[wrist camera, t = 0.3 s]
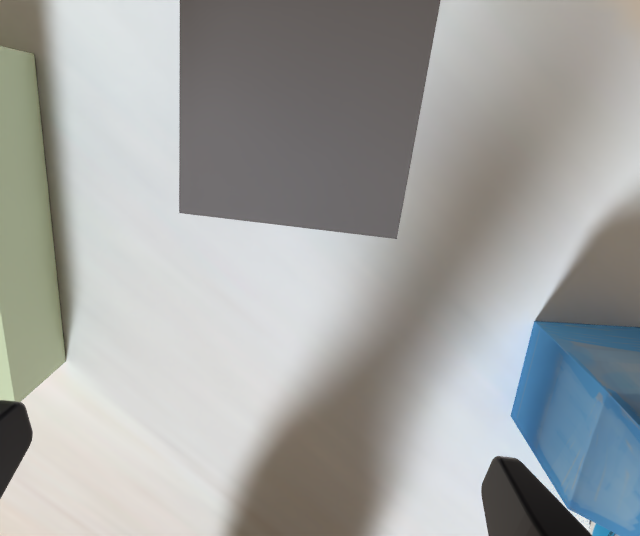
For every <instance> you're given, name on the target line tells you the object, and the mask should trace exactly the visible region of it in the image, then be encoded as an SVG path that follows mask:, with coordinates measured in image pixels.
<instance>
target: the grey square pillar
mask: <svg viewBox="0 0 640 536" xmlns="http://www.w3.org/2000/svg"><path fill="white" fill-rule="evenodd" d="M439 5H440V0H180V178H179V213H185V214H193V215H201V216H210V217H218V218H227V219H235V220H243V221H252V222H260V223H268V224H277V225H285V226H294V227H302V228H310V229H319V230H327V231H335V232H344V233H352V234H361V235H369V236H377V237H386V238H394V239H397V234H398V228H399V223H400V217H401V212H402V207H403V201H404V196H405V190H406V185H407V179H408V174H409V168H410V163H411V158H412V152H413V147H414V141H415V136H416V130H417V125H418V119H419V114H420V108H421V103H422V98H423V92H424V87H425V81H426V76H427V70H428V65H429V59H430V54H431V49H432V43H433V38H434V32H435V27H436V21H437V16H438V10H439Z"/></svg>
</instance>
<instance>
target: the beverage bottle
mask: <svg viewBox="0 0 640 536" xmlns="http://www.w3.org/2000/svg"><path fill="white" fill-rule="evenodd" d="M589 533H590V534H591V535H592V536H619V535H617V534H615V533H613V532H612V531H610V530H608V529H606V528H604V527H602V526H600V525H598V524H596V523H594V522H592V521H591V524H590V530H589Z"/></svg>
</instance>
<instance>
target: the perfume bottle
mask: <svg viewBox="0 0 640 536" xmlns="http://www.w3.org/2000/svg"><path fill="white" fill-rule="evenodd" d="M511 417H512V419H513V420H514V422H515V424H516V425H517V427H518V429H519V430H520V432H521V433H522V435H523V437H524V438H525V440H526V442H527V443H528V445H529V446H530V448H531V450H532V451H533V453H534V455H535V456H536V458H537V459H538V461H539V463H540V464H541V466H542V468H543V469H544V471H545V472H546V474H547V476H548V477H549V479H550V481H551V482H552V484H553V485H554V487H555V489H556V490H557V492H558V494H559V495H560V497H561V499H562V500H563V502H564V503H565V505H566V507H567V508H568V509H570V510H571V511H573V512H575V513H577V514H579V515H581V516H583V517H585V518H587V519H589V520H591V521H592V522H594V523H596V524H598V525H600V526H602V527H604V528H606V529H608V530H610V531H612V532H613V533H615V534H617V535H619V536H640V327H624V326H607V325H591V324H574V323H557V322H540V321H534V325H533V329H532V333H531V337H530V341H529V345H528V349H527V353H526V357H525V361H524V365H523V369H522V373H521V377H520V381H519V385H518V389H517V393H516V397H515V401H514V405H513V409H512V413H511Z"/></svg>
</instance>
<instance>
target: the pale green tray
mask: <svg viewBox="0 0 640 536" xmlns="http://www.w3.org/2000/svg"><path fill="white" fill-rule="evenodd" d="M64 362H66V358H65V349H64V339H63V329H62V320H61V310H60V300H59V291H58V281H57V271H56V261H55V252H54V242H53V232H52V223H51V213H50V203H49V194H48V184H47V174H46V164H45V155H44V145H43V135H42V126H41V116H40V106H39V97H38V87H37V77H36V67H35V58H34V54H32V53H28V52H24V51H20V50H16V49H11V48H7V47H3V46H0V400H7V401H16V402H21V401H22V400H23V399H24V398H25V397H26V396H27V395H28V394H30V393H31V392H32V391H33V390H34V389H35V388H36V387H37V386H39V385H40V384H41V383H42V382H43V381H44V380H45V379H46V378H48V377H49V376H50V375H51V374H52V373H53V372H54V371H55V370H57V369H58V368H59V367H60V366H61V365H62V364H63V363H64Z"/></svg>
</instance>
